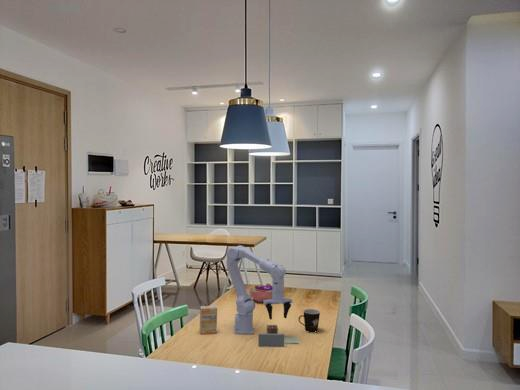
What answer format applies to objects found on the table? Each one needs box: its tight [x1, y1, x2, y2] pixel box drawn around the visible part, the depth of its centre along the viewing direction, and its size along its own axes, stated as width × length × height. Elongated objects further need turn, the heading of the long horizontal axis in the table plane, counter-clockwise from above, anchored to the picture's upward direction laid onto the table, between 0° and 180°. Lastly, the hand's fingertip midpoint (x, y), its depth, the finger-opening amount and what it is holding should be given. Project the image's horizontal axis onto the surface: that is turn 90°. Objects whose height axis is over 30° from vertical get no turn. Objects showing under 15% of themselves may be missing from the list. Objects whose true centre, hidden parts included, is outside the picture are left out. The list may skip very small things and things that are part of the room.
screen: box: [257, 333, 285, 347], centre depth 185 cm, size 12×1×6 cm, turn 92°
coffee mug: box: [298, 308, 321, 333], centre depth 206 cm, size 12×9×10 cm
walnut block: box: [266, 324, 279, 334], centre depth 194 cm, size 5×5×6 cm
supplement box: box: [199, 305, 218, 335], centre depth 200 cm, size 8×5×13 cm, turn 105°
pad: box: [284, 336, 300, 344], centre depth 191 cm, size 7×7×1 cm
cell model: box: [248, 283, 272, 303], centre depth 260 cm, size 17×20×11 cm
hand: (277, 318), depth 195 cm, fingers open, 7 cm apart
